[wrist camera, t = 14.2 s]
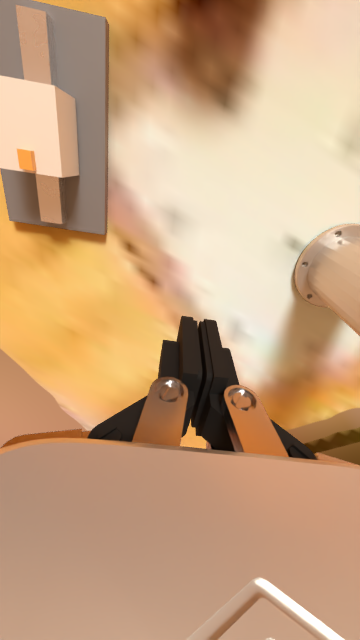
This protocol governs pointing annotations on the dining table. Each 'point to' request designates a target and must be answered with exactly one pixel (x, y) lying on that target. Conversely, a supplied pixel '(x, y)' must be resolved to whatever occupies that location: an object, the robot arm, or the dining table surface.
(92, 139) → the mounting board
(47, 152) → the block
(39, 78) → the rail
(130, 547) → the robot arm
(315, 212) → the dining table surface
